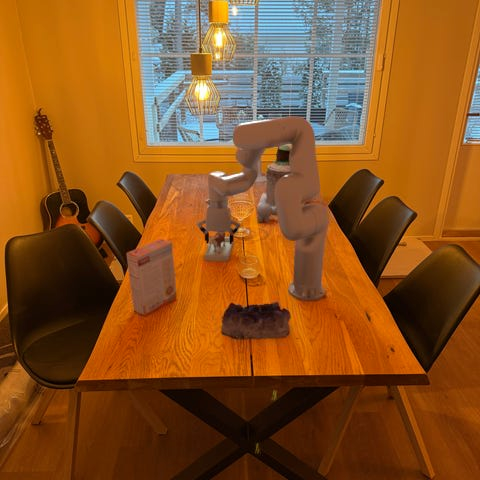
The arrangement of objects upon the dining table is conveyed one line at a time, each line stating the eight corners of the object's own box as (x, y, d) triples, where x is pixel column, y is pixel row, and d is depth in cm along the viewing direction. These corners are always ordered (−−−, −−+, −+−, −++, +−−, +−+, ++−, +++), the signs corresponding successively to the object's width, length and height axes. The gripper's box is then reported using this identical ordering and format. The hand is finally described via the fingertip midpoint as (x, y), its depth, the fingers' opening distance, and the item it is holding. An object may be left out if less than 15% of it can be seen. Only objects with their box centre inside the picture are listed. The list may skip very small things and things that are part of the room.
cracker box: (165, 293, 151) (160, 237, 143) (177, 299, 148) (173, 242, 139) (132, 310, 141) (125, 251, 133) (144, 317, 138) (138, 257, 129)
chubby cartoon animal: (282, 223, 211) (283, 206, 208) (256, 223, 212) (256, 206, 208) (281, 218, 218) (282, 201, 215) (256, 218, 219) (256, 201, 215)
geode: (223, 347, 124) (220, 315, 121) (220, 328, 135) (218, 298, 132) (294, 339, 126) (293, 307, 123) (285, 321, 137) (284, 292, 134)
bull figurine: (207, 256, 177) (206, 237, 173) (218, 243, 188) (218, 225, 185) (217, 257, 175) (216, 238, 172) (228, 244, 187) (228, 226, 184)
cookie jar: (304, 212, 226) (308, 150, 213) (257, 210, 229) (257, 149, 216) (305, 197, 248) (308, 140, 235) (262, 196, 251) (262, 139, 239)
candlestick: (259, 176, 291) (260, 130, 279) (272, 180, 282) (274, 132, 270) (244, 179, 283) (244, 132, 271) (258, 183, 274) (258, 135, 262)
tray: (228, 261, 174) (228, 255, 173) (204, 260, 174) (204, 255, 173) (233, 242, 191) (233, 237, 190) (211, 241, 191) (211, 236, 190)
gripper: (195, 205, 171) (197, 245, 178) (239, 206, 170) (239, 247, 177) (198, 199, 178) (200, 238, 185) (240, 200, 177) (240, 239, 184)
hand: (219, 242), depth 181 cm, fingers open, 9 cm apart
